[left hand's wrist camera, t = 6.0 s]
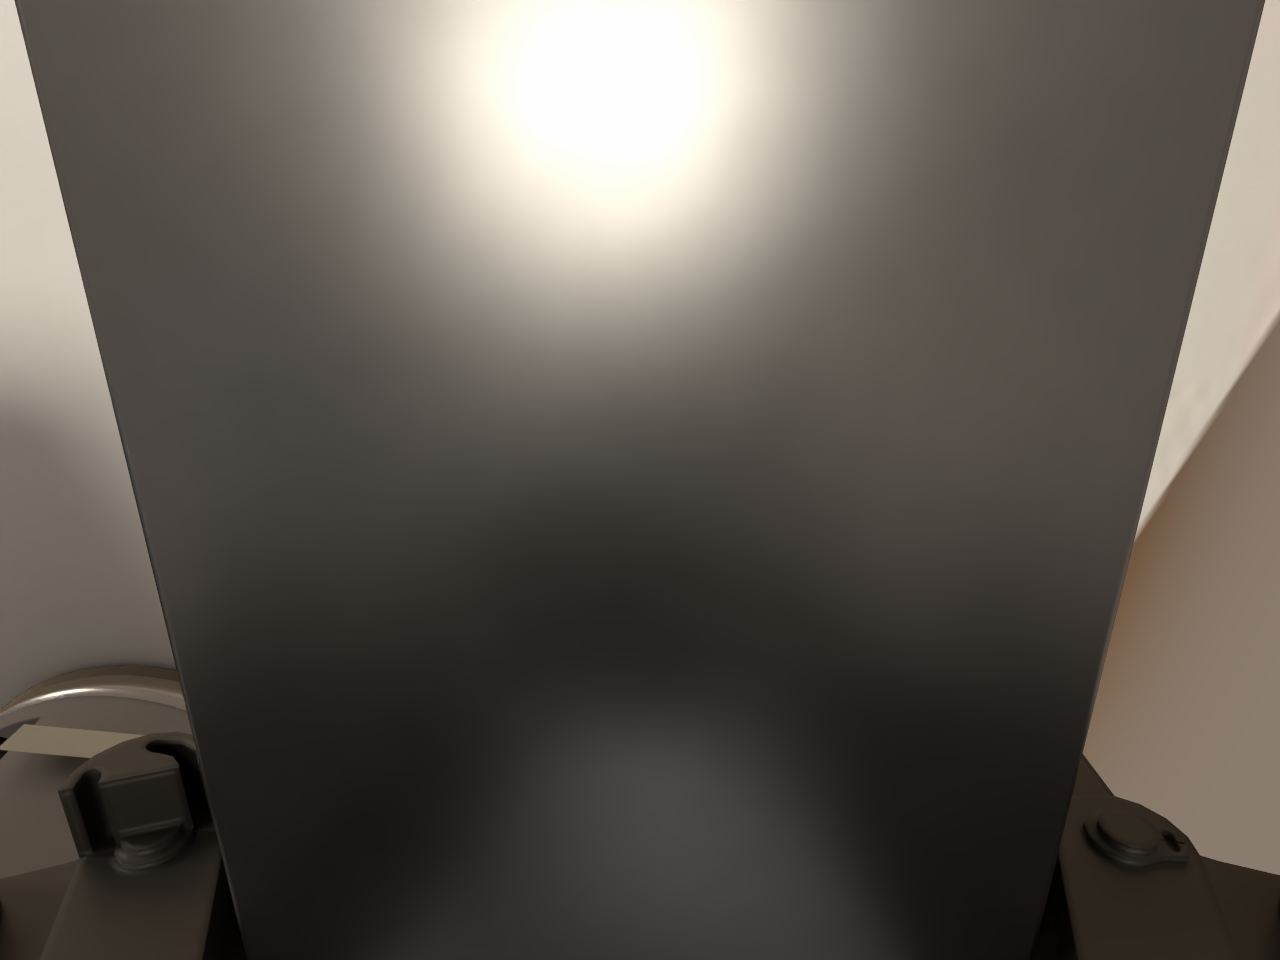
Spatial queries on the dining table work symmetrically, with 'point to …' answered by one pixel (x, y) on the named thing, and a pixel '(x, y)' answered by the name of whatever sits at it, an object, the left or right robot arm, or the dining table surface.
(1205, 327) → the dining table surface
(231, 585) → the box
